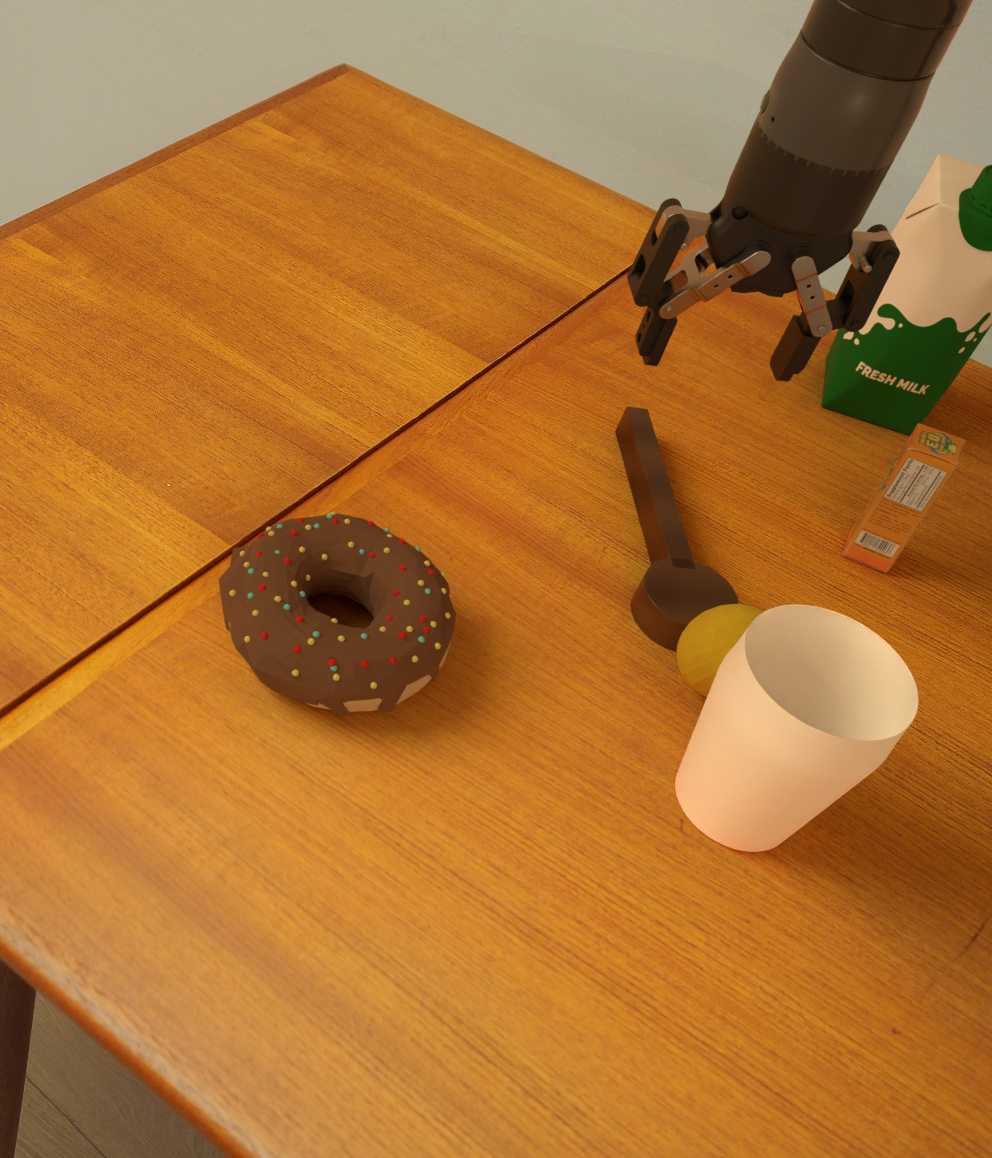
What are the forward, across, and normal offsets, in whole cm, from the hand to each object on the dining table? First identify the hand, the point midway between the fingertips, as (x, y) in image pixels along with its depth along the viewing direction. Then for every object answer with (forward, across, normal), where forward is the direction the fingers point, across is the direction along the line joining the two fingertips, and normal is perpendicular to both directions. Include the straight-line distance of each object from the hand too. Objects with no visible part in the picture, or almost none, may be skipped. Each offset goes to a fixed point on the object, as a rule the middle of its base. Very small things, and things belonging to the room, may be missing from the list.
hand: (713, 365), depth 83 cm
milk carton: (+12, +20, +15) cm, 28 cm away
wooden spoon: (+11, 0, -4) cm, 12 cm away
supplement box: (+12, +15, -3) cm, 19 cm away
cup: (+12, 0, -25) cm, 28 cm away
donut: (+11, -23, -16) cm, 31 cm away
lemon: (+11, 0, -16) cm, 19 cm away
